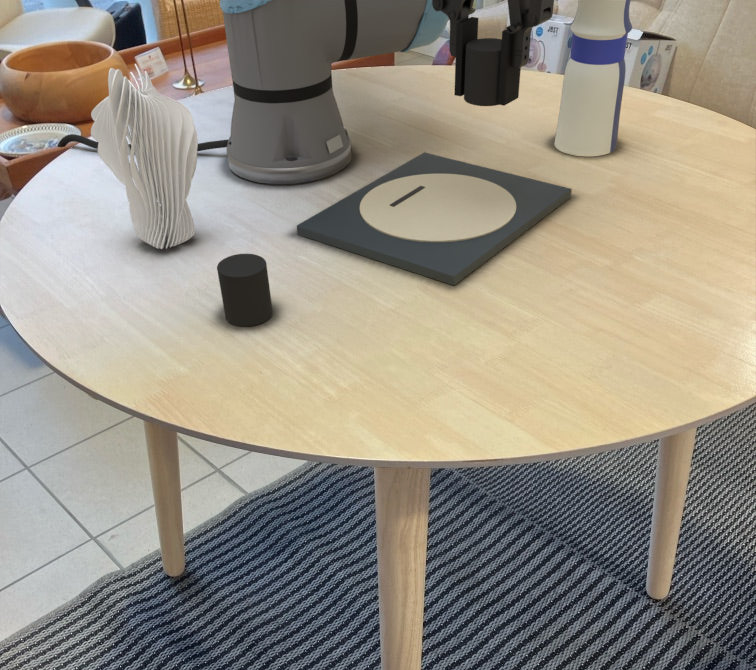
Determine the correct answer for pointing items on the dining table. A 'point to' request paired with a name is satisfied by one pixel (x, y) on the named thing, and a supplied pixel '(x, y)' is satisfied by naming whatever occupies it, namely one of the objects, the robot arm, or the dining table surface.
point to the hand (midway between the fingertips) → (486, 95)
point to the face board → (435, 216)
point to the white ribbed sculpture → (149, 156)
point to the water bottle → (594, 79)
